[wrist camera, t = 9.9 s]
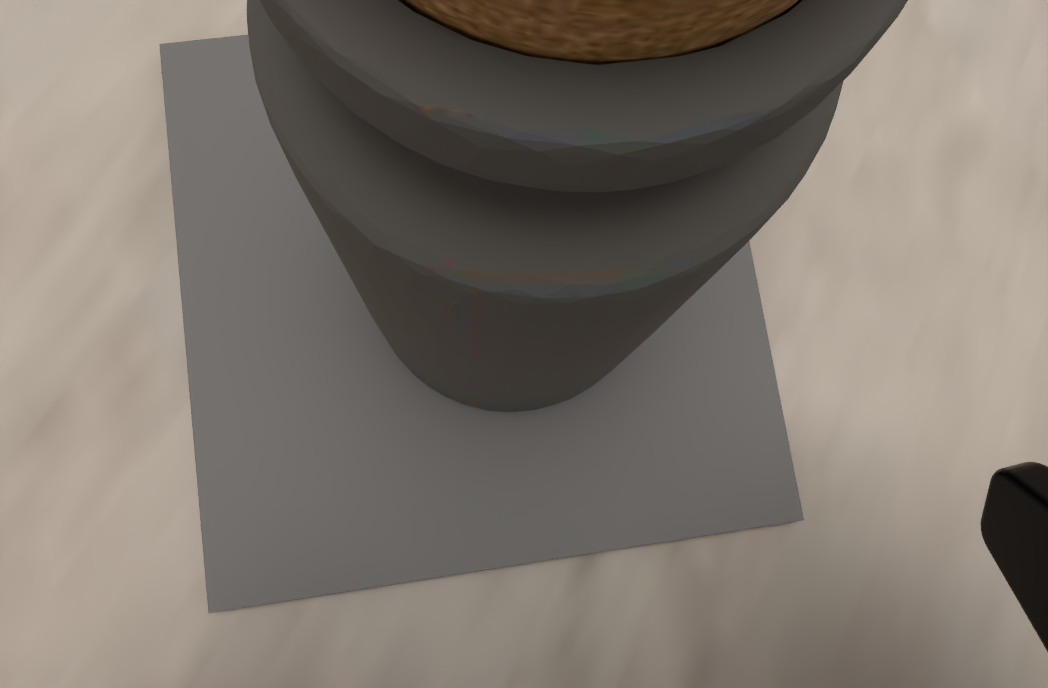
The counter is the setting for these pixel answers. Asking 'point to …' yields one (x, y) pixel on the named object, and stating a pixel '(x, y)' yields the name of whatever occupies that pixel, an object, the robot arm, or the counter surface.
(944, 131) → the counter surface
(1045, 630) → the robot arm
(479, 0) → the bottle
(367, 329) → the slate mat
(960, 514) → the counter surface
